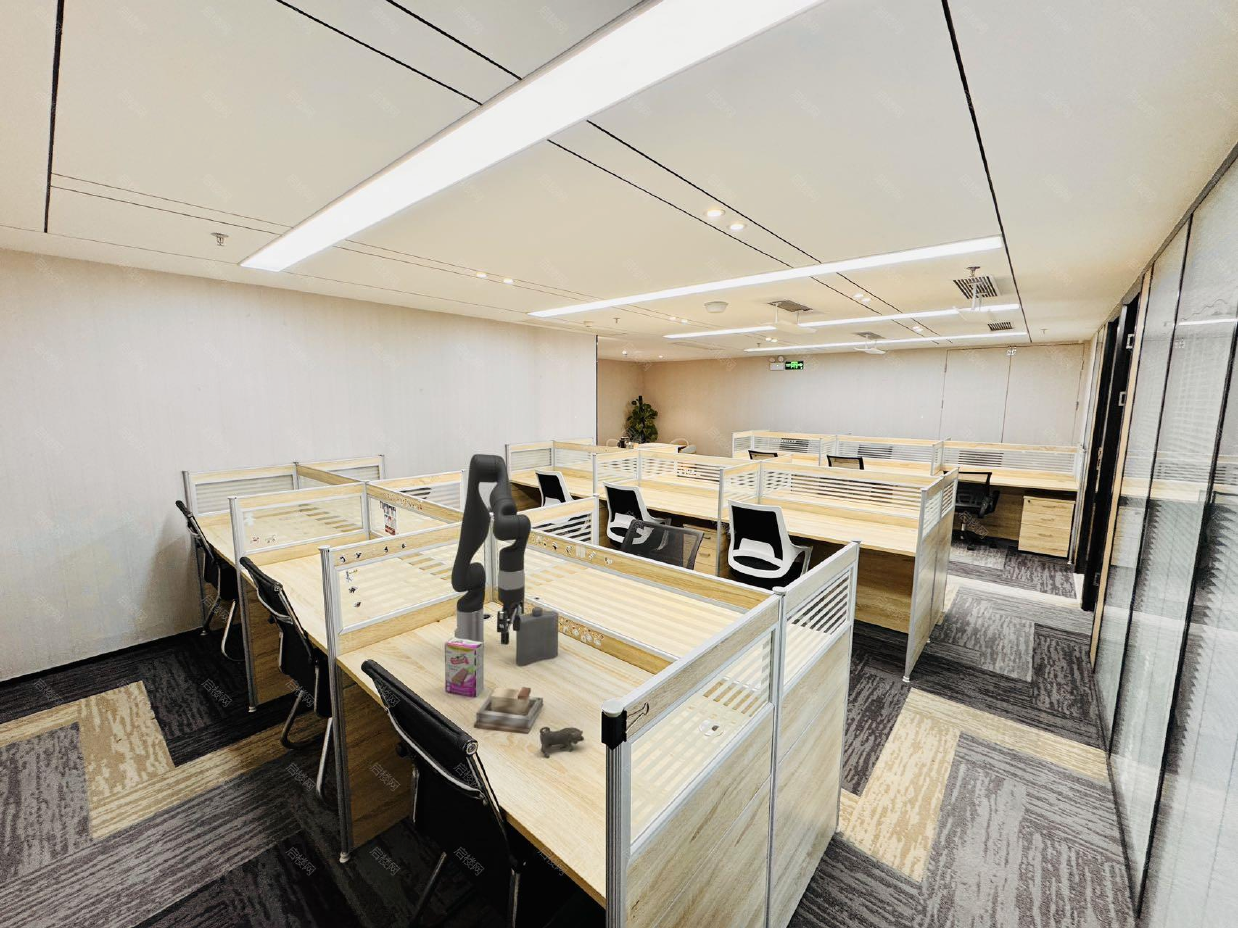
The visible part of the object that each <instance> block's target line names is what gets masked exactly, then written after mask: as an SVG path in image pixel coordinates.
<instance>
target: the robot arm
mask: <svg viewBox="0 0 1238 928" xmlns="http://www.w3.org/2000/svg"><path fill="white" fill-rule="evenodd" d="M480 483H485V484H486V483H491V484H493V483H496V484H495V486H494V487H493V489H492V490H491V492H490V494H489V505H490V508H491V511H492V514H493V523H492V533H493V537H494V538H495V539H496V540H498V541H501V542H506V541H513V543H512V544H510V545H508V546H505V547H502V548H501V549H500V550H499V551H498V573H497V574H498V575H497V600H498V601H499V602H500V603H501V604H502V609H501V610H498V611H497V612H496V613H497V614H496V615H497V616H496V633H499V634H500V644H502V645H505V646H506V645H509V644H510V628H511V626H512V631H513V632H516V631H520V629H521V618H522V615H525V595H526V592H525V591H526V590H525V585H526V583H525V582H526V576H525V575H526V574H525V553H526V548H527V544H528V540H529V538H530V534H531V532H532V531H531V530H532V523H531V520H530V518H529V517H528V516H527V515H526V514H522V513H520V514H518V505H517V504H516V501H515V499H514V497H513V495H512V494H513V493H512V491H511V485H510V480H509V475H508V470H507V464H506V461H505V460H504V458H503V456H500V455H495V454H484V453H483V454H482V453H480V454H479V453H476V454H473V455H472V457H471V459H470V461H469V467H468V478H467V488H466V489H467V491H466V497H465V498H466V499H465V504H464V510H463V516H462V520H461V527H460V534H459V541H458V547H457V552H456V555H455V559H454V562H453V566H452V569H451V575H450V576H451V578H450V579H451V580H450V581H451V582H450V583H451V586H452V589H453V590H454V591H455V592H456V593H465V592H466V593H465V594H464V595H463V596H461V597H459V599H458V600H457V601H456V628H455V630H454V637H457V638H462V639H467V640H473V641H478V642H483V643H484V641H485V638H484V635H485V634H484V631H485V630H484V629H485V628H484V626H485V625H484V619H485V618H484V603H485V600H486V587H487V585H486V582H487V580H486V579H487V575H486V570H485V567H484V565H483V564H482V563H481V562H479V561H478V562H477V561H476V562H475V561H474V562H472V560H473V558H474V556H475V555H476V553H477V552H478V551H479V549H480V548H481V546H482V545H483V544H484V543H485V541H486V540H487V538H488V535H489V531H490V526H491V525H490V524H491V521H492V519H491V517H492V516H491V514H490V511H489V510H488V509H489V508H488V507H487V506H486V503H485V502H484V500H483V499H482V498H483V497H482V496H481V493H480ZM514 540H515V541H514ZM483 647H484V648H485V645H484V646H483Z"/></svg>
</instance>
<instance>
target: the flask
mask: <svg viewBox="0 0 1238 928" xmlns="http://www.w3.org/2000/svg"><path fill="white" fill-rule="evenodd" d="M515 633H516V634H515V639H516V641H515V642H516V643H515V645H516V646H515V650H516V651H515V653H516V654H515V655H516V656H515V658H516V659H515V662H516V666H518V667H526V666H529V665H532V664H535V663H537V662H541V661H546V660H552V659H556V658H557V657H558V656H559V613H558V612H557V611H555V610H545V611H544V610H543V608H542V607H541V606H534V607H532V609H531V613H526V614H525V613H524V614H522V618H521V629H520V631H515Z"/></svg>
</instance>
